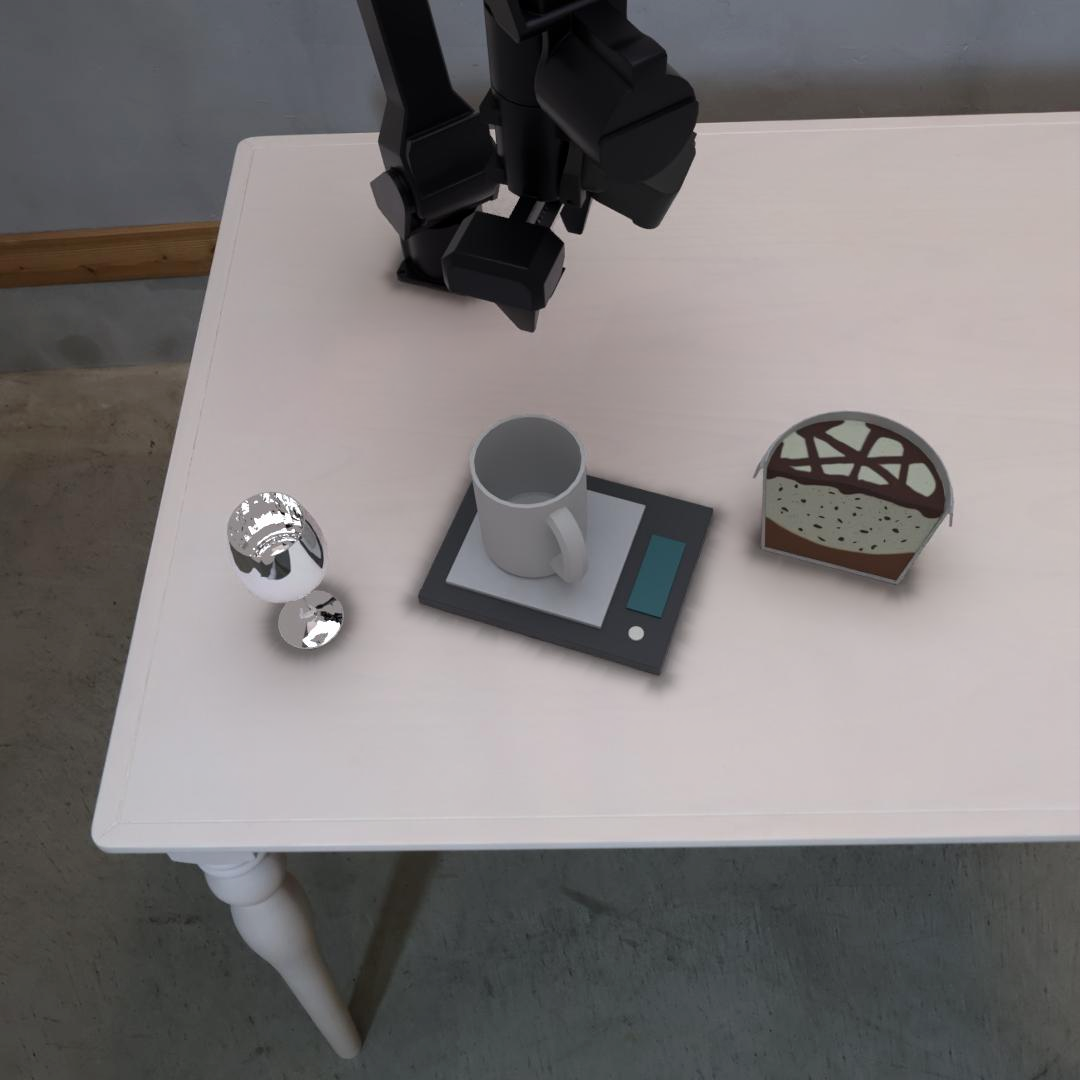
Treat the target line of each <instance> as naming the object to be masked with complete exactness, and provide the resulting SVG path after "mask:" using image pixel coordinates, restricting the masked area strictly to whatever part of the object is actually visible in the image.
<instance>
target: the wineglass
mask: <svg viewBox="0 0 1080 1080" xmlns="http://www.w3.org/2000/svg"><path fill="white" fill-rule="evenodd" d="M226 539H227V540H226V541H227V548H228V554H229V559H230V562H231V566H232V569H233V571H234V573H235V575H236V576H237V579H238V580H239V581H240V583H241V584H242V586H243V587H244V588H245V589H246V590H247V591H248V592H249V593H251V594H252V595H253V596H255V597H256V598H258V599H260V600H262V601H265V602H269V603H275V604H284V606H283V608H281V611H280V613H279V617H278V631H279V633H280V636H281V637H282V639H283V640H284V641H285V642H286V643H287V644H288V645H290V646H291V647H294V648H296V649H297V648H298V649H302V650H312V649H317V648H320V647H323V646H325V645H327V644H329V643H330V642H331V641H332V640H334V639H335V638H336V636H337V635H338V634H339V633H340V631H341V630H342V627H343V624H344V618H345V614H344V608H343V605H342V604H341V602H340V601H339V600H338V598H336V597H335V596H334V594H333V595H332V594H331V593H330V592H327V591H323V590H317V587H319V585H320V584H321V582H322V581H323V579H324V577H325V576H326V573H327V570H328V567H329V557H330V556H329V548H328V543H327V539H326V537H325V534H324V531H323V530H322V528H321V526H320V525H319V524H318V522H317V521H316V519H315V518H314V516H313V515H312V514H311V512H309V511H308V510H307V508H306V507H305V506H304V505H303V504H302V503H300V502H299V501H298V500H297V499H296V498H294V497H292V496H291V495H289V494H287V493H283V492H280V491H268V492H267V491H266V492H260V493H258V494H254V495H252V496H250V497H248V498H246V499H245V500H243V501H242V502H240V504H239V505H237V506H236V508H235V509H234V510H233V511H232V513H231V514H230V516H229V518H228V522H227V525H226Z"/></svg>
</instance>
